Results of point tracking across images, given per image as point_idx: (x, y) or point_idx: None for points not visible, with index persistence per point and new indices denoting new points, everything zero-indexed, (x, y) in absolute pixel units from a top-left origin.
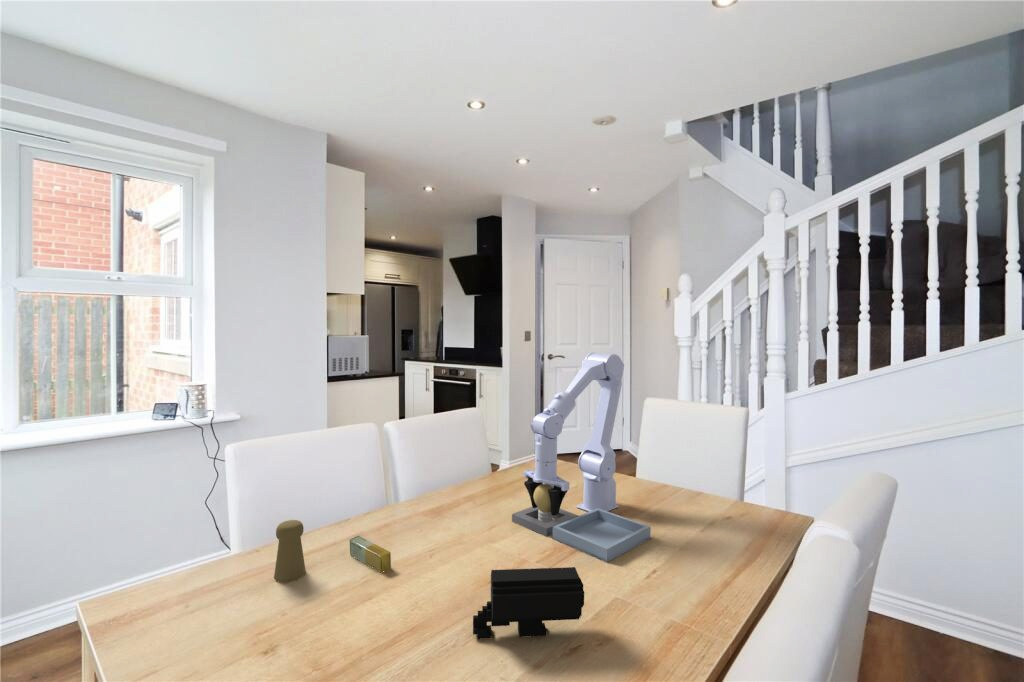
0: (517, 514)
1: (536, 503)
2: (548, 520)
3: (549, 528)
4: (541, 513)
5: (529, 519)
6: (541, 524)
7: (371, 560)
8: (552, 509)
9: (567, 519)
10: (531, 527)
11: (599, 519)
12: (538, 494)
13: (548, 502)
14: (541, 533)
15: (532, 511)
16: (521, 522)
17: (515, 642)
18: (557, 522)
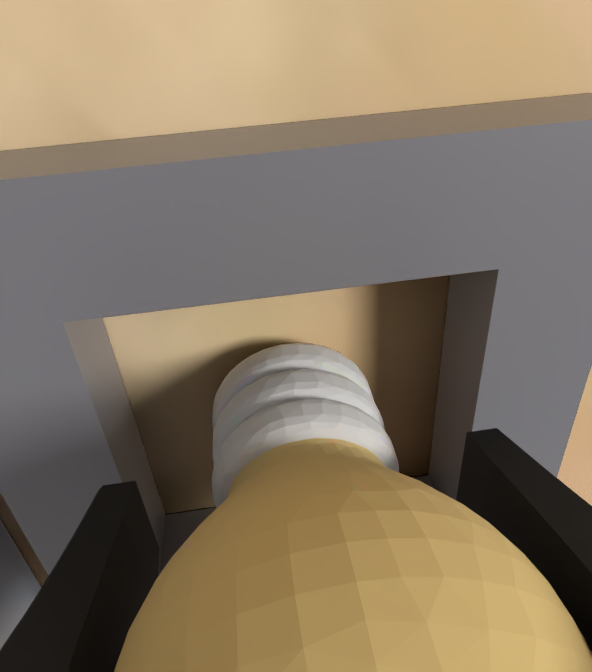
0: (583, 175)
1: (369, 490)
2: (215, 414)
3: None
4: (282, 418)
5: (316, 205)
6: (38, 235)
7: None
8: (72, 560)
9: (42, 551)
10: (207, 139)
11: None
12: None
13: (126, 648)
14: (2, 155)
15: (478, 394)
16: (419, 119)
17: None
18: (11, 441)
